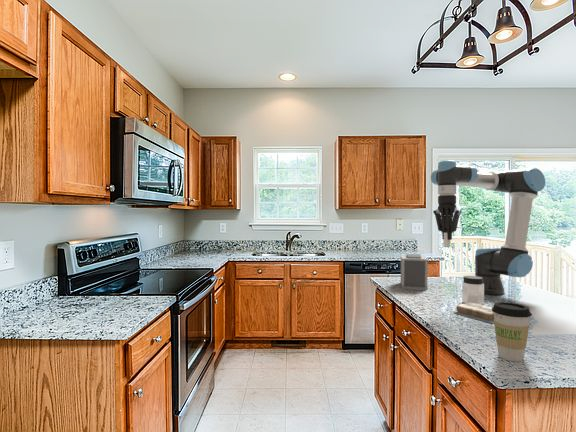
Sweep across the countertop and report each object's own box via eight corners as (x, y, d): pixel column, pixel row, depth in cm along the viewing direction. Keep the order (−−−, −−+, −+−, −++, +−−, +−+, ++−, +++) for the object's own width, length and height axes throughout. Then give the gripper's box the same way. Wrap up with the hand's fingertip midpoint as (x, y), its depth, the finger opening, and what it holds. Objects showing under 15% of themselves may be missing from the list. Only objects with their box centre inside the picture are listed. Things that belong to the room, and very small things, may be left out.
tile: (471, 302, 154) (504, 309, 142) (470, 307, 154) (504, 316, 142) (456, 305, 149) (489, 313, 137) (456, 311, 149) (489, 320, 137)
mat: (476, 308, 155) (476, 307, 155) (515, 317, 142) (515, 316, 142) (453, 313, 147) (453, 312, 147) (492, 323, 134) (492, 323, 134)
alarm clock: (400, 282, 211) (400, 251, 211) (424, 283, 208) (424, 252, 208) (401, 289, 194) (402, 255, 193) (427, 290, 190) (427, 256, 190)
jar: (476, 306, 158) (476, 279, 158) (459, 302, 165) (459, 276, 165) (487, 303, 163) (487, 277, 163) (469, 299, 170) (469, 274, 170)
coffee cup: (483, 351, 108) (484, 301, 107) (514, 350, 108) (515, 301, 108) (506, 365, 98) (507, 310, 98) (539, 363, 99) (540, 310, 98)
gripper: (429, 195, 164) (429, 246, 165) (455, 194, 153) (455, 248, 154) (439, 195, 168) (439, 245, 169) (465, 194, 157) (465, 247, 157)
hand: (447, 246), depth 161 cm, fingers closed
